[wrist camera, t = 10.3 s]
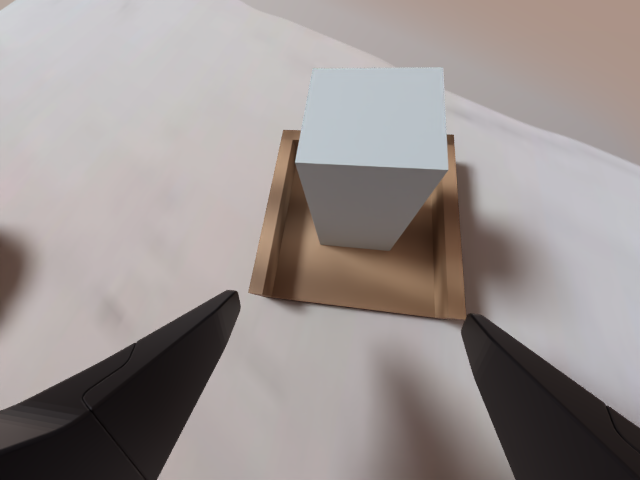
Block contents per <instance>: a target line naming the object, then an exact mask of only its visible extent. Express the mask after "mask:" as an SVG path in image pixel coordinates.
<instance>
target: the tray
mask: <svg viewBox="0 0 640 480" xmlns="http://www.w3.org/2000/svg"><path fill="white" fill-rule="evenodd" d="M300 133H301V131H300V130H283V134H282V138H281V143H280V148H279V152H278V157H277V162H276V166H275V171H274V176H273V180H272V185H271V189H270V194H269V199H268V203H267V208H266V213H265V217H264V222H263V227H262V231H261V236H260V240H259V245H258V250H257V254H256V259H255V264H254V268H253V273H252V278H251V282H250V287H249V291H248V293H251V294H255V295H259V296H264V297H272V298H280V299H288V300H296V301H304V302H312V303H320V304H328V305H336V306H344V307H352V308H360V309H368V310H376V311H384V312H392V313H400V314H408V315H416V316H424V317H432V318H440V319H456V320H465V319H466V309H465V294H464V279H463V265H462V250H461V235H460V221H459V206H458V191H457V177H456V162H455V147H454V135H447V152H448V171H447V173H446V174H445V175H444V177H443V178H442V180H441V181H440V182H439V184H438V185H437V186H436V188H435V189H434V191H433V192H432V193H431V195H430V196H429V197H428V199H427V200H426V202H425V203H424V204H423V206H422V207H421V208H420V210H419V211H418V213H417V214H416V215H415V217H414V218H413V220H412V221H411V222H410V224H409V225H408V226H407V228H406V229H405V231H404V232H403V233H402V235H401V236H400V237H399V239H398V240H397V242H396V243H395V244H394V246H393V247H392V248H391V250H390V251H384V250H373V249H362V248H352V247H341V246H330V245H320V242H319V239H318V235H317V232H316V229H315V226H314V222H313V219H312V216H311V213H310V210H309V206H308V203H307V200H306V197H305V193H304V190H303V187H302V184H301V180H300V177H299V174H298V171H297V167H296V164H295V160H296V154H297V149H298V144H299V139H300Z"/></svg>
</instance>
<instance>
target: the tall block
mask: <svg viewBox="0 0 640 480" xmlns="http://www.w3.org/2000/svg"><path fill="white" fill-rule="evenodd" d="M295 164H296V167H297V171H298V174H299V177H300V180H301V184H302V187H303V190H304V193H305V197H306V200H307V203H308V206H309V210H310V213H311V216H312V219H313V222H314V226H315V229H316V232H317V235H318V239H319V242H320V245H330V246H341V247H352V248H362V249H373V250H384V251H390V250H391V248H392V247H393V246H394V244H395V243H396V242H397V240H398V239H399V237H400V236H401V235H402V233H403V232H404V231H405V229H406V228H407V226H408V225H409V224H410V222H411V221H412V220H413V218H414V217H415V215H416V214H417V213H418V211H419V210H420V208H421V207H422V206H423V204H424V203H425V202H426V200H427V199H428V197H429V196H430V195H431V193H432V192H433V191H434V189H435V188H436V186H437V185H438V184H439V182H440V181H441V180H442V178H443V177H444V175H445V174H446V173H447V171H448V152H447V133H446V114H445V96H444V77H443V68H313V70H312V75H311V80H310V86H309V91H308V96H307V102H306V107H305V112H304V117H303V123H302V128H301V133H300V139H299V144H298V149H297V154H296V160H295Z"/></svg>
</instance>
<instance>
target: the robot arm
mask: <svg viewBox="0 0 640 480" xmlns="http://www.w3.org/2000/svg"><path fill="white" fill-rule="evenodd" d="M240 308H241V306H240V300H239V295H238V292H237V291H234V290H226V291H224V292H223V293H221V294H219V295H217V296H216V297H214V298H212V299H210V300H209V301H207V302H205V303H203V304H202V305H200V306H198V307H196V308H195V309H193V310H191V311H189V312H188V313H186V314H184V315H182V316H181V317H179V318H177V319H175V320H174V321H172V322H170V323H168V324H167V325H165V326H163V327H161V328H160V329H158V330H156V331H154V332H153V333H151V334H149V335H147V336H146V337H144V338H142V339H140V340H139V341H137V343H133V344H132V345H130V346H128V347H126V348H125V349H123V350H121V351H119V352H117V353H116V354H114V355H112V356H110V357H108V358H107V359H105V360H103V361H101V362H99V363H97V364H95V365H93V366H92V367H90V368H88V369H86V370H84V371H82V372H80V373H78V374H76V375H74V376H72V377H70V378H68V379H66V380H64V381H62V382H60V383H58V384H56V385H54V386H52V387H50V388H48V389H46V390H44V391H42V392H41V393H39V394H37V395H35V396H33V397H31V398H29V399H27V400H25V401H23V402H20V403H18V404H16V405H14V406H11V407H9V408H6V409H4V410H1V411H0V480H157V478H158V476H159V475H160V473H161V471H162V469H163V467H164V465H165V463H166V461H167V459H168V457H169V455H170V453H171V451H172V449H173V448H174V446H175V444H176V442H177V440H178V438H179V436H180V434H181V432H182V430H183V428H184V426H185V424H186V422H187V421H188V419H189V417H190V415H191V413H192V411H193V409H194V407H195V405H196V403H197V401H198V399H199V397H200V395H201V394H202V392H203V390H204V388H205V386H206V384H207V382H208V380H209V378H210V376H211V374H212V372H213V370H214V368H215V367H216V365H217V363H218V361H219V359H220V357H221V355H222V353H223V351H224V349H225V347H226V345H227V343H228V340H229V338H230V335H231V333H232V330H233V327H234V325H235V322H236V320H237V317H238V315H239V312H240ZM461 335H462V339H463V342H464V345H465V349H466V352H467V356H468V359H469V363H470V366H471V369H472V373H473V376H474V379H475V381H476V384H477V386H478V389H479V391H480V394H481V396H482V399H483V401H484V403H485V406H486V408H487V411H488V413H489V416H490V418H491V421H492V423H493V425H494V428H495V430H496V433H497V435H498V438H499V440H500V443H501V445H502V448H503V450H504V452H505V455H506V457H507V460H508V462H509V465H510V467H511V470H512V472H513V475H514V477H515V479H516V480H640V428H639V427H637V426H636V425H635V424H633V423H632V422H630V421H629V420H628V419H626V418H625V417H623V416H622V415H621V414H619V413H618V412H616V411H615V410H614V409H612V408H611V407H609V406H606V405H605V403H604V402H602V401H601V400H600V399H598V398H597V397H595V396H594V395H593V394H591V393H590V392H588V391H587V390H586V389H584V388H583V387H581V386H580V385H579V384H577V383H576V382H575V381H573V380H572V379H570V378H569V377H568V376H566V375H565V374H563V373H562V372H561V371H559V370H558V369H556V368H555V367H554V366H552V365H551V364H549V363H548V362H547V361H545V360H544V359H542V358H541V357H540V356H538V355H537V354H535V353H534V352H533V351H531V350H530V349H529V348H527V347H526V346H524V345H523V344H522V343H520V342H519V341H517V340H516V339H515V338H513V337H512V336H510V335H509V334H508V333H506V332H505V331H503V330H502V329H501V328H499V327H498V326H496V325H495V324H494V323H492V322H491V321H490V320H488V319H487V318H485V317H484V316H482V315H480V314H468V315H467V317H466V319H465V322H464V324H463V327H462V330H461Z"/></svg>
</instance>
